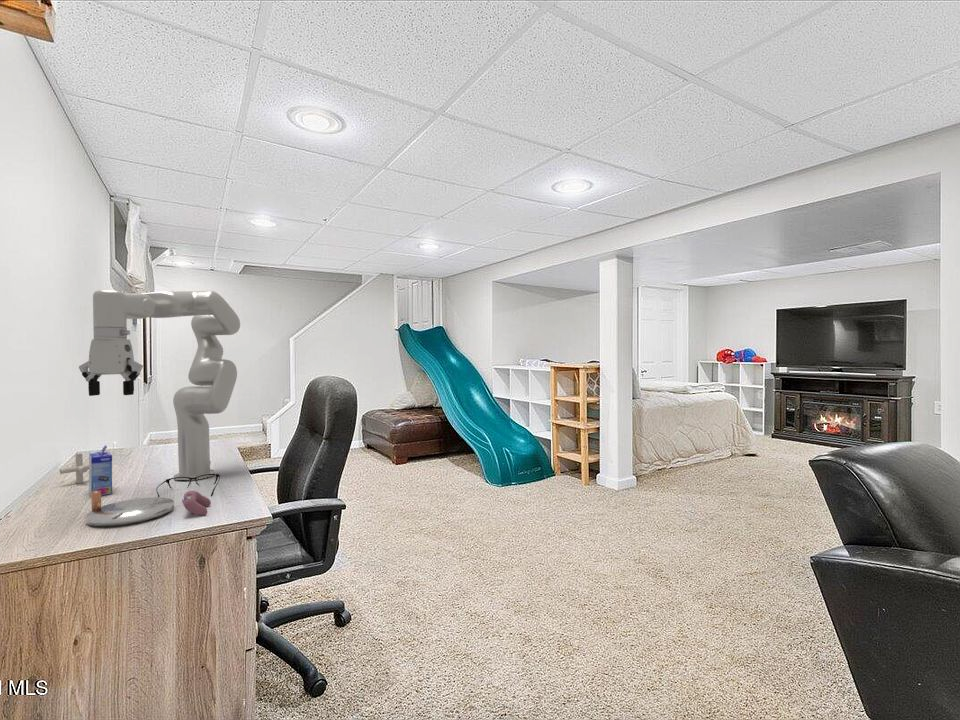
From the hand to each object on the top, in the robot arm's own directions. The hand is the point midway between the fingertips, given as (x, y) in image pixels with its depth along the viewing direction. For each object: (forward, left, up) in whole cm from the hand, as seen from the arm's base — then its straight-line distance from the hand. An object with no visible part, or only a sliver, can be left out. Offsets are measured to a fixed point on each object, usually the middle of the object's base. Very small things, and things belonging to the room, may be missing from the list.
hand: (111, 395), depth 138 cm
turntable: (+10, +9, -32) cm, 34 cm away
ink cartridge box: (-17, -12, -32) cm, 38 cm away
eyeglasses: (-10, +16, -32) cm, 37 cm away
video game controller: (+10, +25, -32) cm, 42 cm away
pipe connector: (-32, -26, -32) cm, 53 cm away
